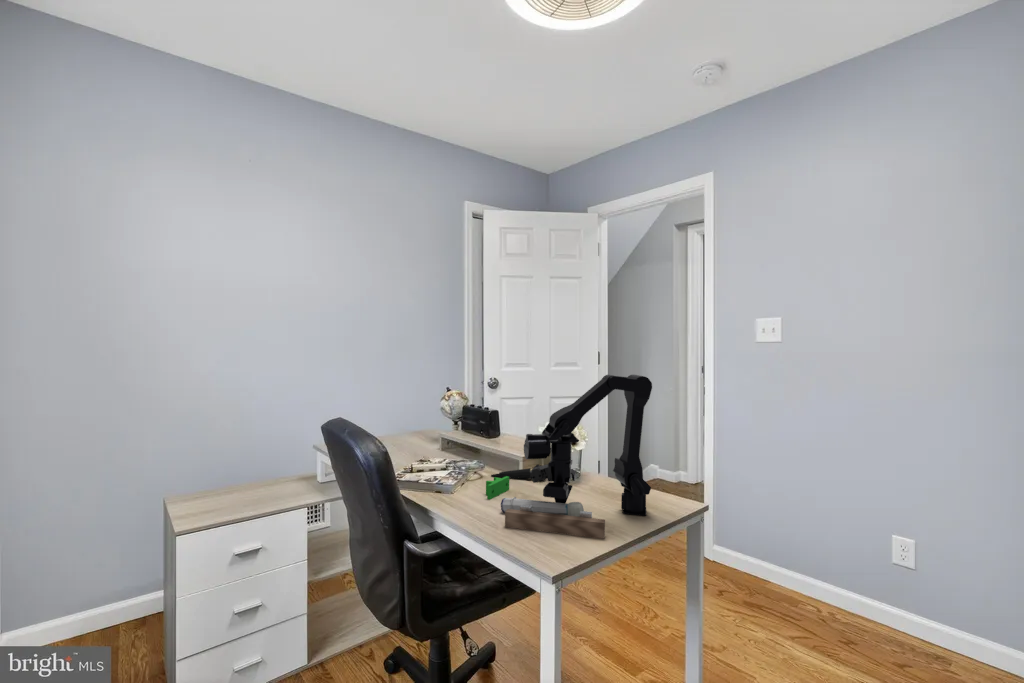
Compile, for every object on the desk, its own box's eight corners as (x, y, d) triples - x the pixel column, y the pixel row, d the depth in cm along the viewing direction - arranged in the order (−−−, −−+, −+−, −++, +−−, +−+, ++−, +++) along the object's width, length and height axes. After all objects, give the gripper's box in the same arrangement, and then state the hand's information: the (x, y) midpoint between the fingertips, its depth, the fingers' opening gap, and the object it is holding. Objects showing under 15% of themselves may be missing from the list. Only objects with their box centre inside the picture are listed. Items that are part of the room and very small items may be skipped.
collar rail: (605, 532, 125) (605, 513, 125) (604, 538, 122) (604, 519, 121) (509, 521, 132) (509, 503, 132) (504, 526, 128) (505, 508, 128)
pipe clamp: (499, 488, 161) (499, 474, 161) (509, 490, 159) (509, 476, 159) (480, 497, 151) (480, 483, 151) (490, 500, 150) (490, 485, 149)
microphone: (491, 487, 172) (546, 484, 168) (488, 473, 170) (544, 469, 166) (494, 478, 177) (548, 474, 173) (491, 464, 175) (545, 460, 171)
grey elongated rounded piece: (507, 495, 142) (588, 497, 131) (509, 517, 142) (591, 522, 131) (498, 500, 138) (581, 503, 126) (501, 524, 137) (585, 528, 126)
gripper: (540, 447, 147) (539, 498, 147) (525, 463, 129) (524, 521, 129) (576, 450, 144) (575, 502, 144) (566, 467, 126) (565, 527, 126)
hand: (559, 512), depth 136 cm, fingers closed
